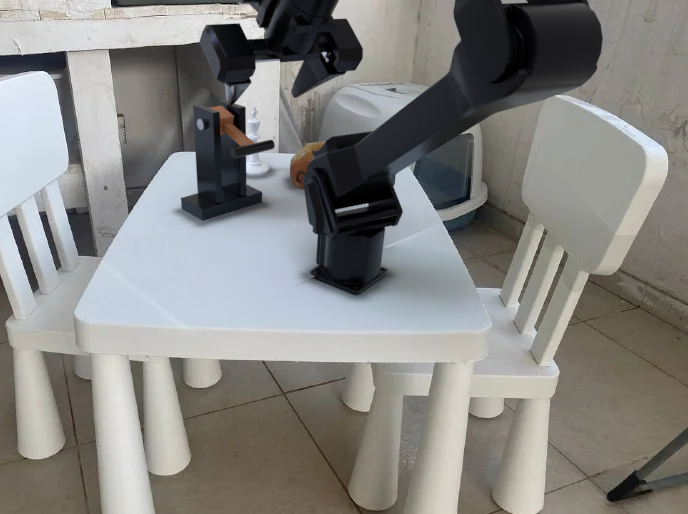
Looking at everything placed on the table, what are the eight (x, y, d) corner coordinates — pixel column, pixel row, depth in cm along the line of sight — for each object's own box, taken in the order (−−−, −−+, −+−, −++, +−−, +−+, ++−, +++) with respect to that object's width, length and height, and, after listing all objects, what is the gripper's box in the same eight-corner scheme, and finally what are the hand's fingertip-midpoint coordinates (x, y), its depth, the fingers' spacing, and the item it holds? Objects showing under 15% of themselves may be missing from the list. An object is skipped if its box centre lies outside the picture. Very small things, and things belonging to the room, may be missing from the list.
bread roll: (352, 199, 97) (356, 148, 96) (354, 195, 87) (358, 137, 86) (290, 195, 98) (293, 144, 97) (285, 190, 87) (288, 134, 86)
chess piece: (233, 174, 95) (231, 109, 90) (246, 164, 99) (245, 101, 94) (262, 179, 94) (262, 113, 88) (274, 169, 97) (275, 105, 92)
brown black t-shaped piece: (272, 155, 76) (276, 138, 75) (234, 164, 73) (237, 147, 71) (230, 120, 80) (233, 103, 79) (192, 127, 77) (194, 110, 75)
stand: (262, 205, 85) (262, 104, 78) (202, 223, 79) (197, 116, 72) (240, 194, 88) (238, 96, 81) (181, 211, 82) (174, 108, 75)
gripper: (349, -61, 69) (299, 43, 82) (197, -65, 60) (168, 52, 73) (393, 15, 66) (333, 110, 79) (240, 22, 57) (202, 127, 70)
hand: (262, 98), depth 76 cm, fingers open, 9 cm apart
